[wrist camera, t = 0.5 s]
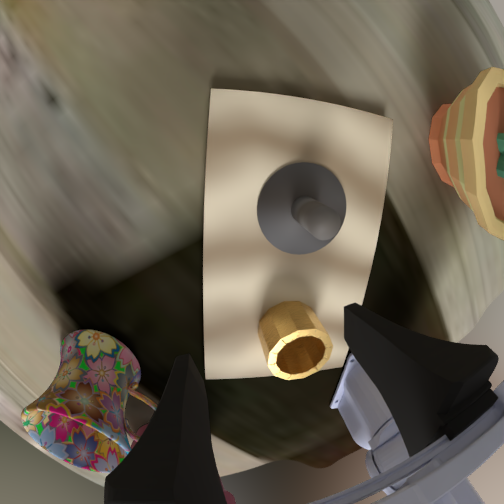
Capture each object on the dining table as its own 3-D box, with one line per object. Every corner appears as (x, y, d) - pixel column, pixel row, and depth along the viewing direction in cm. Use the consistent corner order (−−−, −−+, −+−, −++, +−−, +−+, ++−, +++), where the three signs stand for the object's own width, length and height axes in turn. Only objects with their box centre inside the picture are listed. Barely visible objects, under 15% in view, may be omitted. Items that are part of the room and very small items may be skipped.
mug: (75, 384, 24) (50, 460, 14) (49, 316, 21) (0, 395, 11) (177, 393, 26) (177, 481, 17) (169, 323, 23) (158, 425, 13)
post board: (338, 359, 28) (358, 392, 23) (205, 370, 26) (207, 411, 21) (384, 119, 20) (425, 118, 15) (210, 92, 17) (213, 73, 12)
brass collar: (309, 346, 25) (324, 375, 21) (255, 350, 24) (265, 382, 20) (319, 299, 23) (338, 326, 19) (260, 302, 22) (272, 332, 19)
